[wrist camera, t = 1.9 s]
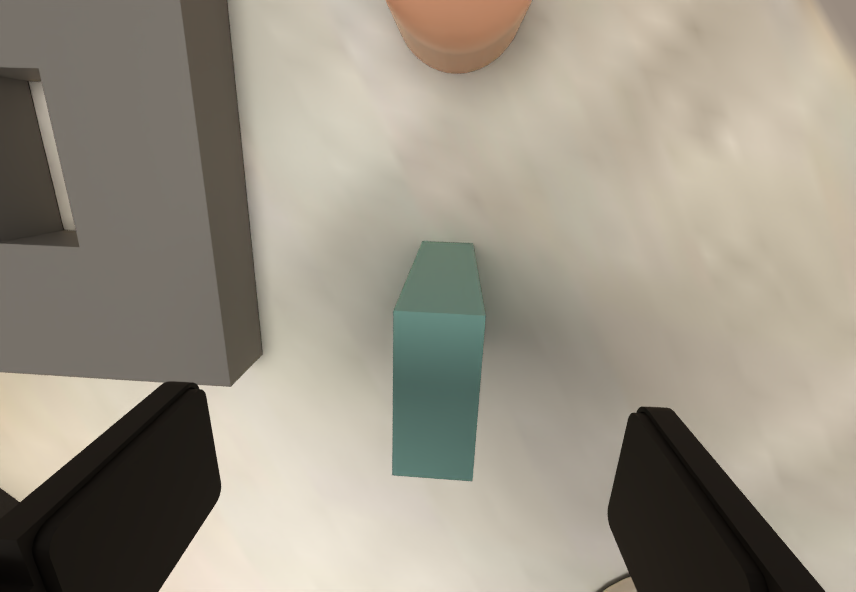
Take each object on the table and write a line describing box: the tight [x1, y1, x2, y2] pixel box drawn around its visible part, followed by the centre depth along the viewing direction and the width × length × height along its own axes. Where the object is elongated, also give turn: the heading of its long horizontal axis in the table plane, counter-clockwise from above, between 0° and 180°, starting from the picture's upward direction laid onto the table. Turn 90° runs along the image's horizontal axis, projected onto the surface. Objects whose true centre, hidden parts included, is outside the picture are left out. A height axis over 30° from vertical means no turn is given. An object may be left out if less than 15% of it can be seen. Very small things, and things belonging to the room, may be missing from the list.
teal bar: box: [392, 241, 486, 481], centre depth 17 cm, size 2×6×10 cm, turn 178°
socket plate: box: [0, 0, 262, 387], centre depth 19 cm, size 16×20×4 cm
